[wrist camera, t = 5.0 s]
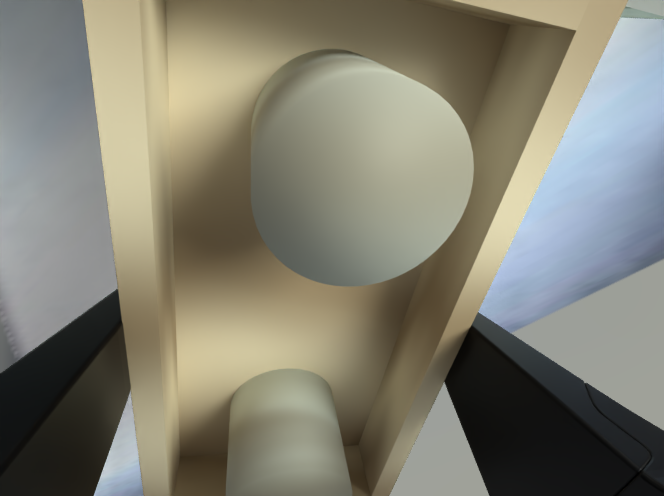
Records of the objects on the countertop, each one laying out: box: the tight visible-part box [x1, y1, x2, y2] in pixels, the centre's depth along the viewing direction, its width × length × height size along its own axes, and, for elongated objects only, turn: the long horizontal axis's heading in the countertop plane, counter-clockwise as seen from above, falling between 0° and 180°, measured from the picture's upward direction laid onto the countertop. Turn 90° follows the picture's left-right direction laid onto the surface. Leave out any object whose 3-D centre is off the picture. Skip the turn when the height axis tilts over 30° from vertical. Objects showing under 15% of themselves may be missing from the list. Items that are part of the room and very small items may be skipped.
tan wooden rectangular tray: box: [82, 0, 628, 496], centre depth 9 cm, size 14×7×4 cm, turn 170°
